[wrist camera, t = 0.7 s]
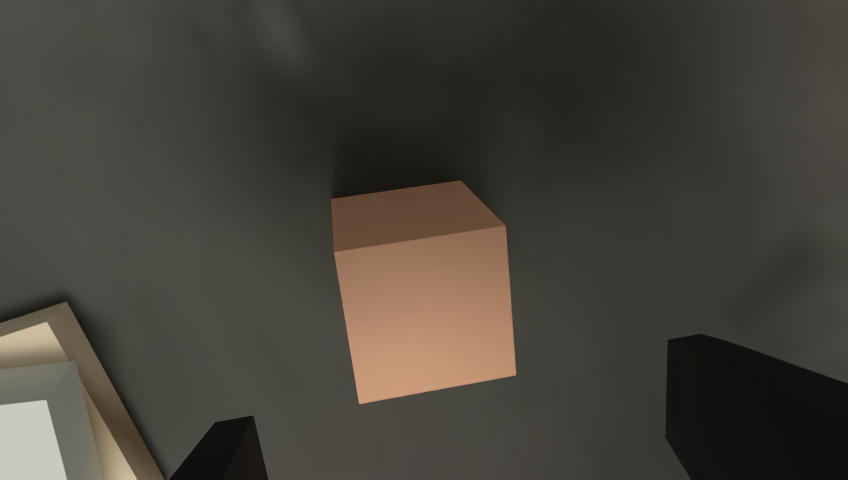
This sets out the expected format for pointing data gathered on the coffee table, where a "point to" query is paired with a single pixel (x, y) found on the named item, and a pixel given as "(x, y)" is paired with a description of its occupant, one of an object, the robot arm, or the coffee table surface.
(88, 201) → the coffee table surface
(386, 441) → the coffee table surface
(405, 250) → the block
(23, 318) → the bottom slab
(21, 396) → the top slab
